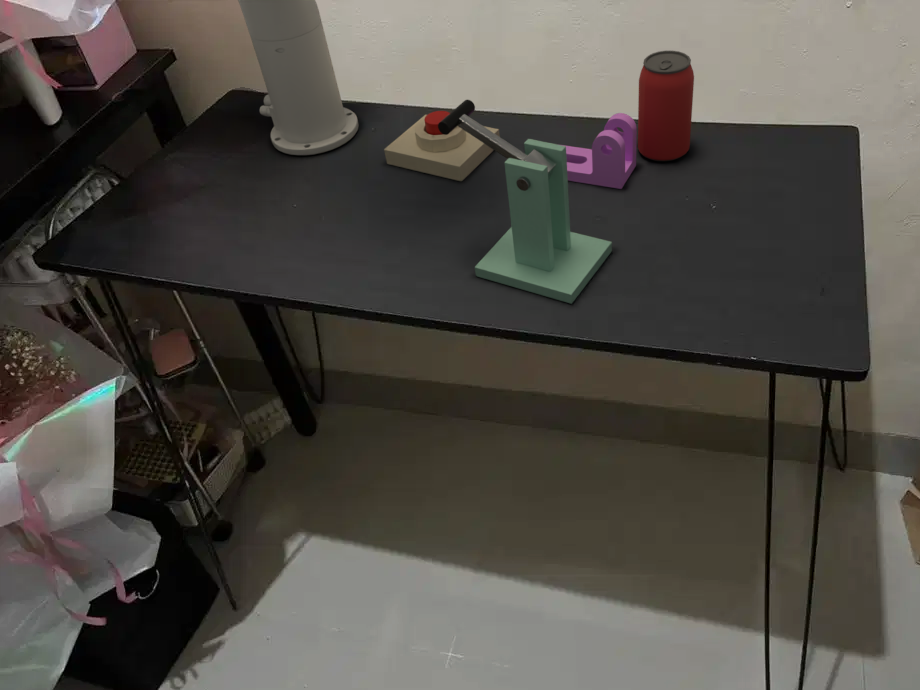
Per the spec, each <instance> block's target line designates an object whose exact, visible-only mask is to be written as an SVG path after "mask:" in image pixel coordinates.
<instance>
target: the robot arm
mask: <svg viewBox="0 0 920 690" xmlns="http://www.w3.org/2000/svg"><path fill="white" fill-rule="evenodd" d="M237 1H238V5H239V7H240V10H241V13H242V16H243V18H244V23H245V26H246V27H247V31H248V34H249V36H250V37H249V38H250V39H251V43H252V46H253V50H254V52H255V56H256V59H257V62H258V65H259V68H260V71H261V75H262V78H263V81H264V84H265V89H266V91H267V94H265V96H264V97H263V105H261V106H260V107H259V114H260V115H261V116H264V117H268V118H269V117H271V120H272V123H273V127H272V129H271V131H270V141H271V144H272V145H273V147H274V148H275V149H276V150H277V151H278V152H281V153H283V154H287V155H291V156H312V155H313V156H314V155H317V154H323V153H326V152H329V151H332V150H334V149H337V148H339V147H341V146H343V145H345V144H346V143H348V142H349V141H350V140H351V139H352V138H354V137H355V135H357V134H356V133H357V132H358V131H359V120H358V117H357V114H356V113H355V112H353V111H352V110H351V109H349V108H347V107H344V105H343V101H342V98H341V94H340V89H339V85H338V81H337V77H336V74H335V69H334V66H333V61H332V57H331V54H330V50H329V45H328V41H327V38H326V37H327V36H326V34H325V30H324V25H323V21H322V18H321V13H320V10H319V5H318V4H317V1H316V0H237Z"/></svg>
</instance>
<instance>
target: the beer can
mask: <svg viewBox="0 0 920 690" xmlns="http://www.w3.org/2000/svg"><path fill="white" fill-rule="evenodd" d="M642 63H643V65H642V68H641V69H640V70H641V71H640V74H639V78H638V102H637V103H638V104H637V105H638V107H637V113H638V115H637V116H638V117H637V149H638V151H639V153H640V154H641V155H642V156H643V157H645V158H647V159H648V160H650V161H654V162H670V161H675V160H679V159H680V158H682V157H683V156H685V155H686V154H687V152H688V151H689V150H690V147H691V146H690V145H691V131H692V117H693V102H694V101H693V99H694V87H695V75H694V73H695V72H694V70H693V67H692V64H691V63H692V59H691V57H690V56H689V55H688V54H686V53H685V52H681V51H678V50H659V51H656V52H652V53H651V54H649V55H647V56H646V57H645V58H644V59H643V62H642Z"/></svg>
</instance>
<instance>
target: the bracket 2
mask: <svg viewBox="0 0 920 690" xmlns="http://www.w3.org/2000/svg"><path fill="white" fill-rule="evenodd" d="M618 128H619V129H621V130H622V131H620V130H619V129H618ZM637 136H638V126H637V124H636V121H635V120H634V119H633V117H631V116H630V115H629V114H627V113H623V112H618V113H614V114H613V115H611V116H610V118H609V119H608V120H607V122H606V123H605V125H604V128H603V130H602V131H600V132H599V133H598V134H597V136H596V137H595V138H594V140H593V141H592V144H591V148H585V147H578V146H573V145H572V146H571V145H564V144H561V145H562V146H566V157H567V176H568V182H574V183H575V182H576V183H581V184H587V185H593V186H599V187H606V188H611V189H612V188H613V189H619V190H622V189H623V187H624V186H625V184H626V183H627V181H628V179H629V178H630V176H631V174H632V173H633V172H634V170H635V168H636V166H637Z"/></svg>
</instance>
